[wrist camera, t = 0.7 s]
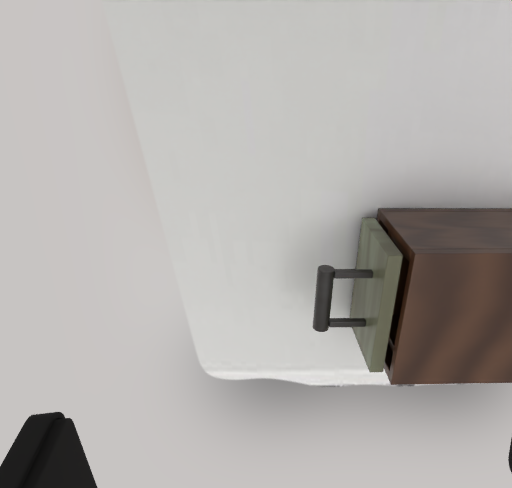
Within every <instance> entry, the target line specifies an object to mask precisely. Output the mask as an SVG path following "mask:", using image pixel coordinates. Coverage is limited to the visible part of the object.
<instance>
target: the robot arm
mask: <svg viewBox="0 0 512 488" xmlns="http://www.w3.org/2000/svg"><path fill="white" fill-rule="evenodd" d="M509 466H510V470H511V472H512V439H511V445H510V452H509ZM0 488H97V486H96V483H95V480H94V478H93V475H92V472H91V469H90V466H89V464H88V461H87V458H86V456H85V453H84V450H83V447H82V445H81V442H80V439H79V436H78V434H77V431H76V428H75V425H74V423H73V421H72V419H70V418H66V419H65V417H64V415H63V414H62V413H61V412H54V413H45V414H36V415H31V416H30V417H29V418H28V419H27V420H26V422H25V423H24V425H23V427H22V429H21V431H20V432H19V434H18V436H17V438H16V439H15V442H14V443H13V445H12V447H11V448H10V450H9V452H8V454H7V456H6V457H5V459H4V461H3V463H2V464H1V466H0Z"/></svg>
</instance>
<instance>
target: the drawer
mask: <svg viewBox="0 0 512 488" xmlns="http://www.w3.org/2000/svg"><path fill="white" fill-rule="evenodd" d="M409 263H410V257H409V256H408V255H407V254H406V252H405V251H404V250H403V248H402V247H401V246H400V244H399V243H398V242H397V241H396V239H395V238H394V237H393V235H392V234H391V233H390V232H389V230H388V235H387V234H386V232H385V231H384V230H383V228H382V227H381V226H380V224H379V223H378V222H377V220H376V219H375V218H362V224H361V232H360V240H359V248H358V256H357V264H356V269H334V268H333V267H331V266H328V265H322V266H319V267H318V272H317V284H316V296H315V307H314V319H313V328H314V329H315V330H316V331H319V332H325V331H327V330H328V328H329V327H352V329H353V331H354V334H355V336H356V339H357V341H358V344H359V346H360V349H361V351H362V354H363V356H364V359H365V361H366V364H367V366H368V369H369V371H370V372H383V368H384V362H385V357H386V351H387V345H388V344H389V346H390V348H391V350H392V352H393V350H394V345H395V339H396V334H397V328H398V323H399V318H400V312H401V307H402V301H403V296H404V290H405V285H406V279H407V274H408V268H409ZM334 278H355V279H354V287H353V295H352V303H351V311H350V318H330V309H331V299H332V289H333V280H334Z"/></svg>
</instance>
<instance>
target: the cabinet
mask: <svg viewBox="0 0 512 488" xmlns="http://www.w3.org/2000/svg"><path fill="white" fill-rule="evenodd" d="M377 222H378V223H379V224H380V226H381V227H382V228H383V230H384V231H385V232H386V234H387V235H388V230H389V232H390V233H391V234H392V235H393V237H394V238H395V239H396V241H397V242H398V243H399V244H400V246H401V247H402V248H403V250H404V251H405V252H406V254H407V255H408V256H409V257H410V263H409V268H408V274H407V279H406V285H405V290H404V296H403V301H402V307H401V312H400V318H399V323H398V328H397V334H396V339H395V345H394V350H393V352H392V350H391V348H390V346H389V344H388V345H387V351H386V357H385V362H384V369H385V371H386V374H387V376H388V379H389V381H390V383H391V385H394V384H454V383H512V209H387V208H380V209H378V216H377Z"/></svg>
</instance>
